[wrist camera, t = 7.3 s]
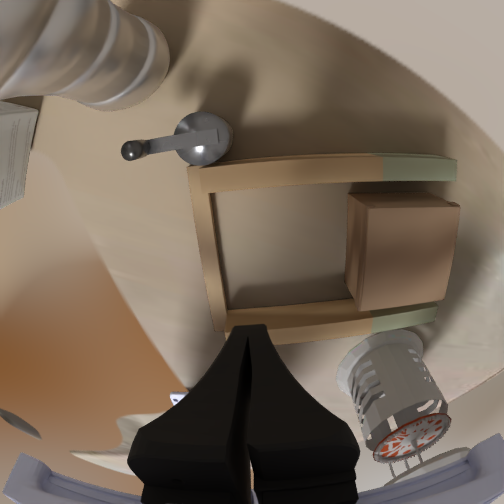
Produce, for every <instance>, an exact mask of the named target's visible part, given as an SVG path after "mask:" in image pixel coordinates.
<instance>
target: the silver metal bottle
mask: <svg viewBox="0 0 504 504" xmlns="http://www.w3.org/2000/svg"><path fill="white" fill-rule="evenodd" d="M169 63H170V52H169V47H168V44H167V41H166V39H165V37H164V35H163V33H162V31H161V30H160V29H159V28H158V27H157V26H156V25H154V24H153V23H151V22H149V21H148V20H146V19H144V18H142V17H139V16H136V15H133V14H130V13H128V12H127V11H125V10H123V9H122V8H120V7H118V6H117V5H115V4H113V3H112V2H111V1H110V0H0V100H3V99H7V98H12V97H18V96H40V95H45V96H59V97H63V98H67V99H71V100H75V101H77V102H79V103H81V104H83V105H85V106H87V107H90V108H93V109H96V110H100V111H117V110H122V109H126V108H129V107H132V106H135V105H137V104H139V103H141V102H143V101H144V100H146V99H147V98H148V97H150V96H151V95H152V94H153V93H154V92H155V91H156V90H157V89H158V88H159V86H160V85H161V83H162V82H163V80H164V78H165V76H166V74H167V71H168V68H169Z"/></svg>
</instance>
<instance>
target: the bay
mask: <svg viewBox="0 0 504 504" xmlns="http://www.w3.org/2000/svg"><path fill="white" fill-rule="evenodd" d="M187 173H188V180H189V187H190V194H191V201H192V208H193V214H194V221H195V227H196V233H197V239H198V245H199V251H200V257H201V263H202V268H203V274H204V279H205V285H206V290H207V295H208V300H209V306H210V311H211V316H212V321H213V326H214V330H215V331H225V332H224V333H225V339H226V341H227V339H228V337H229V335H230V332H231V330H232V328H233V327H234V326H239V325H254V324H265V325H266V326H267V330H268V334H269V336H270V339H271V341H272V343H273V345H281V344H292V343H302V342H311V341H320V340H328V339H336V338H343V337H350V336H357V335H364V334H370V333H376V332H382V331H388V330H393V329H399V328H404V327H409V326H414V325H419V324H424V323H429V322H434V321H435V318H436V314H437V310H438V305H437V304H436V303H435V302H434V301H432V302H426V303H420V304H413V305H406V306H399V307H392V308H385V309H377V310H369V311H361V312H360V311H358V310H357V308H356V306H355V300H354V298H351V299H343V300H334V301H325V302H316V303H306V304H296V305H285V306H274V307H262V308H249V309H235V310H227V304H226V298H225V292H224V285H223V279H222V272H221V266H220V259H219V252H218V246H217V239H216V232H215V225H214V217H213V210H212V203H211V195H210V193H214V192H223V191H233V190H243V189H253V188H265V187H277V186H290V185H305V184H322V183H342V182H369V181H456V173H457V160H455V159H451V158H447V157H442V156H438V155H429V154H403V153H337V154H310V155H292V156H277V157H264V158H253V159H242V160H233V161H224V162H215V163H211V164H208V165H203V166H197V165H192V166H188V167H187Z"/></svg>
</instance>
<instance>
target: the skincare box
mask: <svg viewBox="0 0 504 504" xmlns="http://www.w3.org/2000/svg"><path fill="white" fill-rule="evenodd" d="M38 112H39V111H38V110H37V109H34V108H30V107H26V106H22V105H17V104H13V103H8V102H3V101H0V209H2V208H4V207H5V206H7V205H9V204H11V203H13V202H15V201H17V200H19V199H21V198H23V197H24V188H25V180H26V172H27V166H28V159H29V154H30V148H31V143H32V138H33V133H34V128H35V124H36V120H37V116H38Z"/></svg>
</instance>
